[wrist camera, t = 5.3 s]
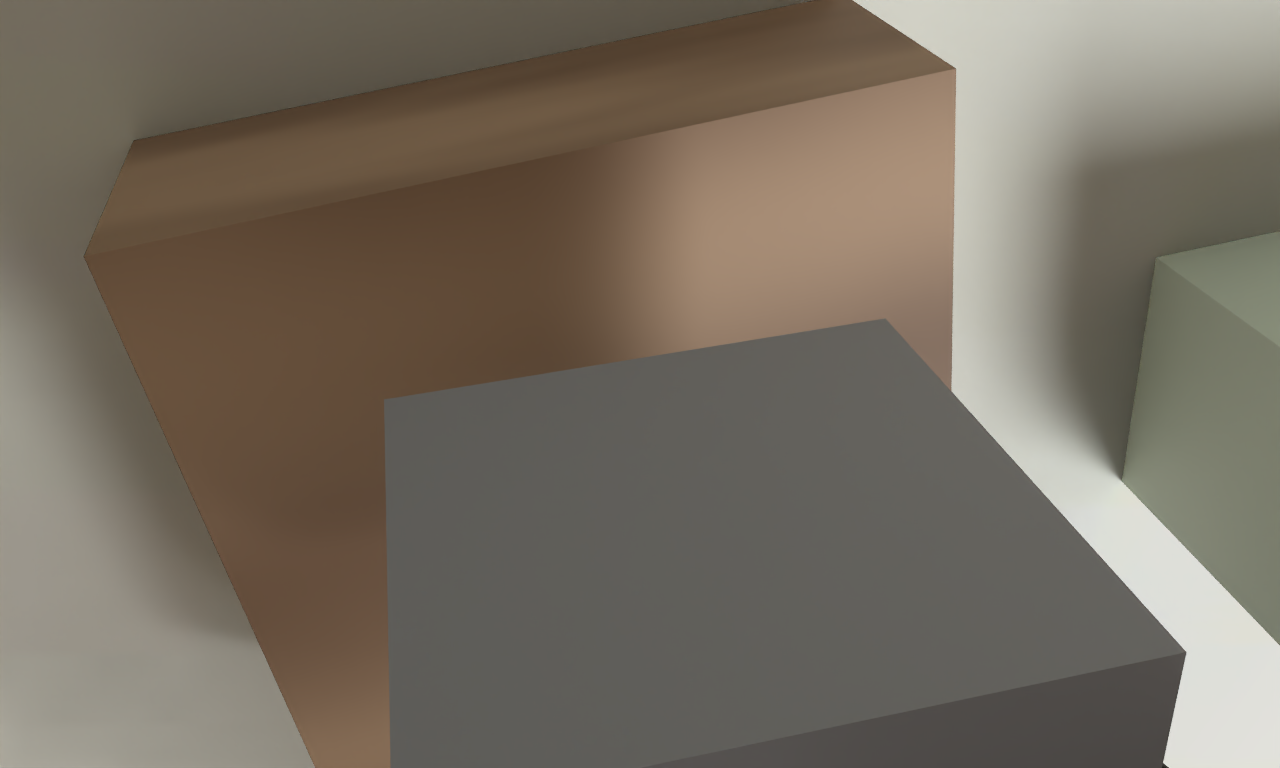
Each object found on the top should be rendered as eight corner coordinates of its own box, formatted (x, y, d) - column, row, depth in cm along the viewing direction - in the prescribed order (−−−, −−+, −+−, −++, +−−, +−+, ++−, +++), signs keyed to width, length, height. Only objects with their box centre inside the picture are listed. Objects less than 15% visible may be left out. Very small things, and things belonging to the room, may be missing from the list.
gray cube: (873, 685, 14) (1092, 1097, 10) (463, 770, 13) (505, 1252, 9) (885, 318, 12) (1186, 650, 7) (384, 398, 11) (392, 819, 7)
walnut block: (857, 512, 22) (947, 661, 19) (341, 645, 21) (342, 827, 18) (834, -12, 17) (956, 68, 13) (137, 131, 16) (83, 256, 12)
